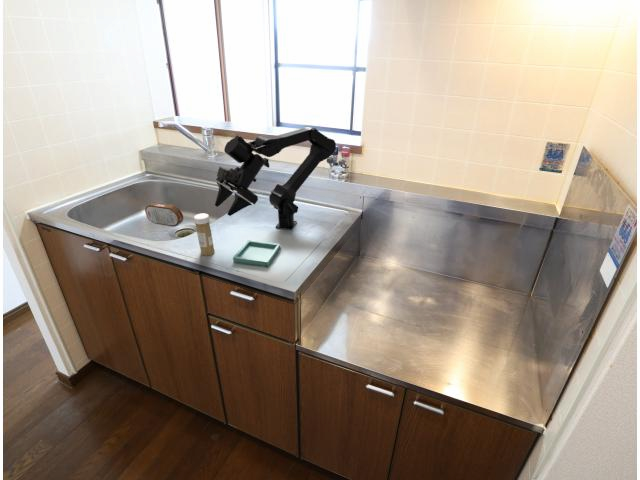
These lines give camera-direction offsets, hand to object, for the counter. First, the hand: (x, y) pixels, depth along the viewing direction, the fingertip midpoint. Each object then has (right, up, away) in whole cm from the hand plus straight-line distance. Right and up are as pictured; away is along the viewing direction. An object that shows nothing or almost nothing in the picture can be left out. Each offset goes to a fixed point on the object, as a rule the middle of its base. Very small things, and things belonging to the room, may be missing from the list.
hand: (222, 210), depth 121 cm
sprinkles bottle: (-5, -14, +3) cm, 15 cm away
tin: (-27, -4, +21) cm, 34 cm away
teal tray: (+11, -15, +1) cm, 19 cm away
